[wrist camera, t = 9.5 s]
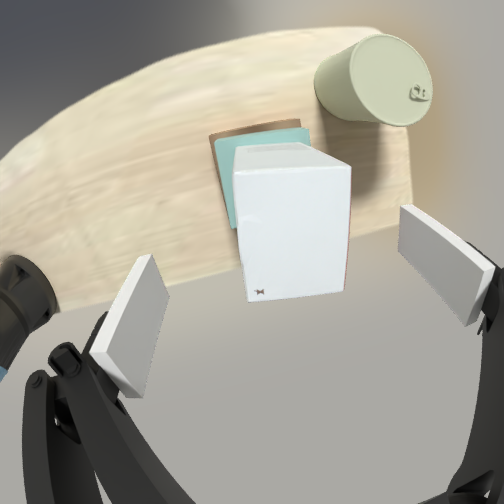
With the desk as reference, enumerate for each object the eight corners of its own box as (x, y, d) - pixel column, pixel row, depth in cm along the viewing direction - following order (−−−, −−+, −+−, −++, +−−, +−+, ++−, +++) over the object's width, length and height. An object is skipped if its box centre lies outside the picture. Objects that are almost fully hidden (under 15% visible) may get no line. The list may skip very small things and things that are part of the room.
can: (372, 129, 30) (426, 142, 20) (307, 109, 29) (342, 107, 19) (385, 69, 26) (441, 59, 16) (320, 44, 25) (359, 16, 15)
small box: (304, 218, 28) (345, 294, 16) (243, 223, 28) (244, 306, 17) (301, 139, 24) (354, 164, 13) (234, 145, 24) (227, 172, 13)
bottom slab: (230, 208, 35) (229, 219, 32) (212, 134, 31) (208, 136, 27) (305, 193, 35) (312, 203, 31) (292, 118, 30) (299, 118, 27)
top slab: (231, 215, 32) (231, 228, 28) (217, 139, 27) (214, 142, 24) (308, 203, 31) (316, 215, 28) (299, 127, 27) (308, 129, 24)
